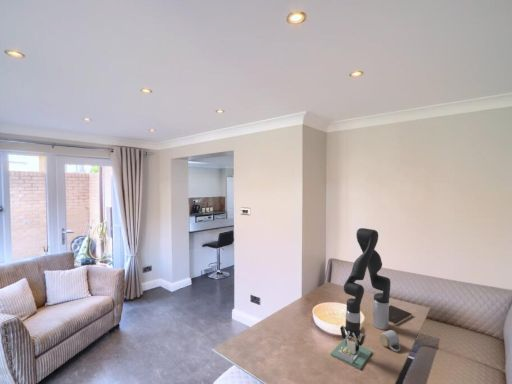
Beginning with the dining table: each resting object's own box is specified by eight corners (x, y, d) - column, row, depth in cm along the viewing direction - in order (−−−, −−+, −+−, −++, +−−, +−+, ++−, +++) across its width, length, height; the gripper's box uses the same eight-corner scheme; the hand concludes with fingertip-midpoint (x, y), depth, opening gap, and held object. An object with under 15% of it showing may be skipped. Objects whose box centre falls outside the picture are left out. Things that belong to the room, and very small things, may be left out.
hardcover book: (412, 317, 183) (412, 313, 182) (395, 326, 170) (395, 323, 170) (390, 307, 196) (390, 304, 196) (372, 316, 183) (372, 313, 183)
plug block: (349, 346, 145) (350, 335, 145) (357, 350, 142) (358, 339, 142) (346, 350, 142) (346, 339, 142) (354, 354, 139) (354, 343, 139)
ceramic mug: (378, 342, 152) (378, 330, 151) (388, 339, 155) (389, 327, 154) (393, 354, 142) (394, 340, 141) (404, 350, 145) (404, 337, 144)
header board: (344, 340, 153) (344, 329, 153) (372, 352, 143) (372, 341, 142) (330, 355, 140) (330, 343, 140) (359, 369, 129) (360, 357, 129)
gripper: (368, 320, 139) (367, 351, 140) (343, 311, 149) (342, 340, 150) (363, 326, 134) (362, 358, 134) (337, 316, 144) (337, 346, 144)
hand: (352, 348), depth 142 cm, fingers closed on plug block, 4 cm apart
